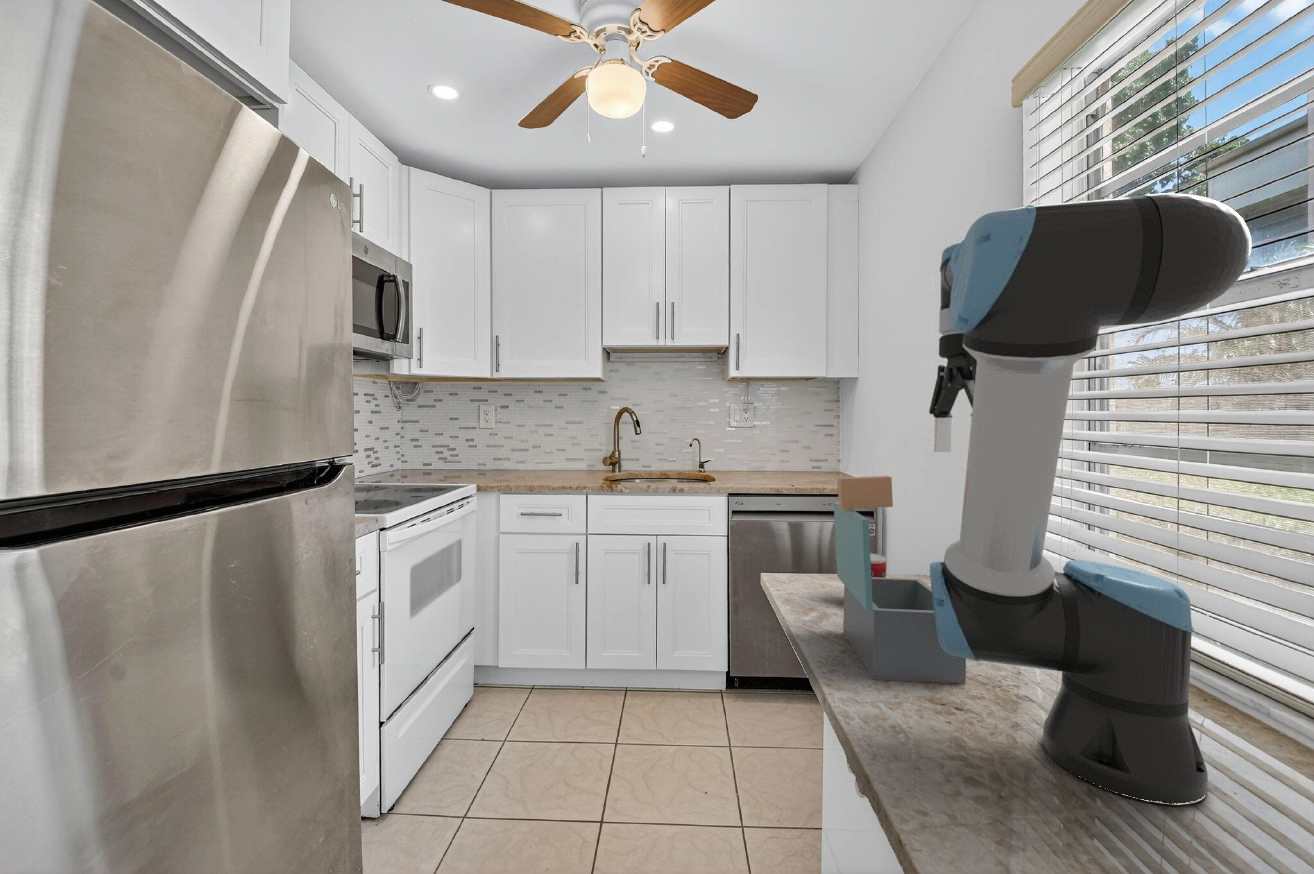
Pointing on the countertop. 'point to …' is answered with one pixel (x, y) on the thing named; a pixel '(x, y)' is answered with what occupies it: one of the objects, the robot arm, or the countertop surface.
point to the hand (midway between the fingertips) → (959, 454)
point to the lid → (858, 531)
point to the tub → (900, 634)
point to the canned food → (878, 566)
